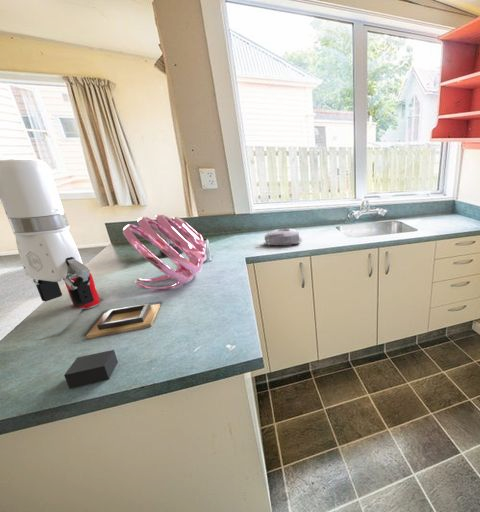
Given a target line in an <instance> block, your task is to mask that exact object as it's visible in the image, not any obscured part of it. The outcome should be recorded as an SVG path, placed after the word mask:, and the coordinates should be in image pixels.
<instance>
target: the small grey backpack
mask: <svg viewBox="0 0 480 512" xmlns="http://www.w3.org/2000/svg"><path fill="white" fill-rule="evenodd" d="M263 239H264V240H265V244H266V245H268V246H277V245H285V246H292V244H293V245H297V244H300V242H301V233H300V231H299V230H298V229H294V228H293V229H292V228H278V229H273V230H271V231H269V232H267V233H266V234H265V235H264V238H263Z"/></svg>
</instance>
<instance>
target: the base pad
mask: <svg viewBox="0 0 480 512" xmlns="http://www.w3.org/2000/svg"><path fill="white" fill-rule="evenodd" d="M160 308H161V303H155V304H150V303H143V304H137V305H130V306H125V307H119V308H112V309H108V311H106V312H104V313H103V314H102V315H101V317H99V319H98V321H96V323H95V324H94V325H93V327H92V328H91V329H90V331H89V332H88V333H87V334H86V338H87V339H88V340H89V339H95V338H100V337H104V336H110V335H114V334H120V333H126V332H130V331H131V332H132V331H134V330H142V329H145V328H152V326H153V324H154V322H155V319H156V317H157V316H158V313H159V311H160Z"/></svg>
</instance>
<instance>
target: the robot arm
mask: <svg viewBox="0 0 480 512" xmlns="http://www.w3.org/2000/svg"><path fill="white" fill-rule="evenodd" d="M0 203H1V204H2V207H3V210H4V212H5V214H6V217H7V220H8V222H9V225H10V227H11V230H12V233H13V235H14V236H15V237H14V238H15V243H16V247H17V251H18V255H19V258H20V262H21V264H22V268H23V270H24V274H25V275H26V277H28V278H30V279H32V282H33V283H34V284H35V286H36V290H37V291H38V294H39V296H40V299H41V301H42V302H48V301H52V300H54V299H58V298H60V297H63V293H62V290H61V287H60V284H59V282H61V281H64V283H65V282H66V284H67V285H68V286H69V287H70V288H71V289H70V290H69V292H70V295H71V298H72V300H71V302H72V301H73V303H72V305H73V304H74V306H75V307H74V306H73V307H74V308H76V307H80V306H83V305H85V304H88V303H91V302H93V301H94V299H93V296H92V293H91V289H90V286H89V285H90V282H89V280H90V277H89V273H91V272H90V271H91V270H90V268H89V267H88V266H86V265H84V263H83V260H82V257H81V255H80V254H81V253H80V251H79V249H78V247H77V245H76V241H75V240H74V238H73V236H72V234H71V232H70V231H69V230H70V224H69V221H68V218H67V216H66V213H65V210H64V206H63V203H62V200H61V197H60V193H59V191H58V189H57V184H56V182H55V179H54V176H53V173H52V171H51V167H50V166H49V165H48V164H47V162H45V161H44V160H40V159H35V158H33V159H32V158H0ZM68 274H70V275H68ZM76 277H77V278H76ZM73 278H76V280H75V282H73V281H72V280H71V279H73ZM66 284H65V285H66ZM69 292H68V293H69ZM70 295H69V296H70ZM71 298H70V299H71ZM80 308H81V307H80Z"/></svg>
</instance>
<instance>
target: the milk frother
mask: <svg viewBox="0 0 480 512" xmlns="http://www.w3.org/2000/svg"><path fill="white" fill-rule="evenodd" d="M174 229H175V228H174ZM153 230H154V231H155V232H156V233H157V234H158V235H159V236H160V237H161V238H162V239H163V240H164V241H165V242H166V243H167V244H168V245H170V246H171V247H172V248H173V249H174V250H175V251H177V252H178V253H179V254H180V255H181V254H182V253H183V252H182V251H181V250H180V249H179V248H178V247H177V246H176V245H175V244H174V243H173V242H172V241H170V240H169V239H168V238H167V237H166V236H164V235H163V234H162V233H160V232H159V231H158V230H156V229H155V228H154V227H153ZM175 230H176V229H175ZM176 231H177V230H176ZM177 232H178V231H177ZM182 237H183V238H184V239H185V240H187V239H186V238H185V237H184V236H183V235H182ZM187 241H188V240H187ZM188 242H189V241H188ZM189 243H190V242H189ZM159 253H160V257H163V256H164V257H165V258H167V256H166V255H165V254H164V253H163V252H162V251H161V250H159ZM164 257H163V258H164Z"/></svg>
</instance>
